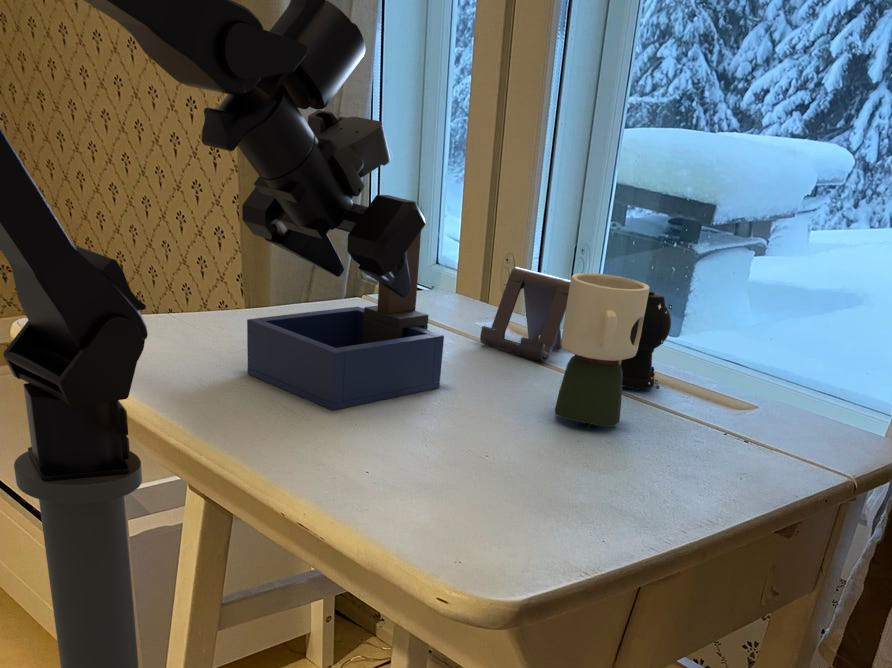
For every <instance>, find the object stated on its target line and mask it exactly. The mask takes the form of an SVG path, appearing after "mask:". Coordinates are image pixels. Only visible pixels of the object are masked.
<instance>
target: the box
mask: <svg viewBox="0 0 892 668" xmlns="http://www.w3.org/2000/svg"><path fill="white" fill-rule="evenodd" d="M363 322H364V307H361V306H351V307H350V306H349V307H342V308H332V309H324V310H315V311H308V312H298V313H291V314H290V313H289V314H281V315H273V316H265V317H257V318H247V320H246V329H247V330H246V334H247V335H246V336H247V337H246V338H247V341H246V342H247V343H246V344H247V345H246V346H247V347H246V350H247V351H246V352H247V354H246V355H247V375H249V376H252V377H254V378H256V379H258V380H261V381H264V382H266V383H268V384H270V385H273V386H275V387H277V388H279V389H282V390H285V391H286V392H289V393H291V394H294V395H296V396H299V397H301V398H303V399H305V400H308V401H310V402H313V403H315V404H317V405H320V406H322V407H323V408H326V409H328V410H331V411H336V410H341V409H345V408H350V407H354V406H359V405H364V404H368V403H369V404H370V403H375V402H378V401H383V400H387V399H393V398H399V397H403V396H406V395H411V394H416V393H421V392H422V393H423V392H425V391H426V392H427V391H431V390H435V389H440V387H441V386H440V385H441V374H442V363H443V353H444V341H445V335H444V334H441V333H438V332H435V331H432V330H429V329H427V330H426V329H423V328H420V327H417V326H415V327H408V328H402V329H403V331H402V338H398V339H392V340H385V341H379V342H372V343H366V344H362V342H363Z"/></svg>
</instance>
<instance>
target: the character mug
mask: <svg viewBox="0 0 892 668" xmlns="http://www.w3.org/2000/svg"><path fill="white" fill-rule="evenodd" d="M649 291H650V286H649V285H648V284H646V283H644V282H642V281H639V280H636V279H632V278H627V277H624V276H617V275H613V274H607V273H595V272H594V273H593V272H580V273H574V274H573V275H571V277H570V287H569V294H568V300H567V307H566V312H565V314H564V319H563V320H564V321H563V327H562V331H561V346H562V348H563V349H564V350H566V351H567V352H569V353H572V354H573V356H571V357H570V359H569V360H568V362H567V364H566V368H565V370H564V374H563V377H562V381H561V384H560V386H559V390H558V395H557V398H556V402H555V406H554V414H555V415H556V416H558V417H560V418H563V419H566V420H571V421H574V422H580V423H583V426H584V427H587V428H589V427H590V426H591V425H594V426H599V427H602V428H603V427H604V428H605V427H611V426H613V427H614V426H616V425H618V424H619V423H620V419H621V410H622V398H623V394H622V393H623V386H622V380H623V372H622V368H621V360H624V359H628V358H632V357H634V356H635V355H636V353H637V350H638V346H639V341H640V337H641V331H642V326H643V320H644V315H645V310H646V305H647V300H648V294H649Z"/></svg>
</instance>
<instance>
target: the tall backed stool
mask: <svg viewBox="0 0 892 668" xmlns="http://www.w3.org/2000/svg"><path fill="white" fill-rule="evenodd" d="M422 230H423V229H422ZM422 230H421V232H420V233H419V234H418V236H417V237H416V239H415V240H414V241H413V243H412V244H411V246H410V247H409V249H408V250H407V251H406V255H407V263H408V269H409V276H410V282H411V292H410V293H409V295H408V296H407V297H406V298H403V297H401V296H399V295H398V294H396V293H395V292H393V291H391V290H390V289H388V288H387V287H385V286H384V285H382V284H381V283H379V282H378V289H377V290H378V291H377V305H372V306H371V305H369V306H364V307H363V308H364V322H363V342H362V344H366V343H372V342H379V341H385V340H392V339H398V338H402V331H403V329H402V328H408V327H415V326H417V327H420V328H423V329H426V330H428V326H429V314H428V313H423V312H421V311H418V310H416V308H417V297H418V296H417V295H418V283H419V281H418V280H419V269H420V255H421V245H422V242H421V241H422Z"/></svg>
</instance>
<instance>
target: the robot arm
mask: <svg viewBox="0 0 892 668" xmlns="http://www.w3.org/2000/svg"><path fill="white" fill-rule="evenodd" d="M83 2H85V3H87V4H88V5H90V6H92V7H93V8H95V9H97V10H98V11H100V12H101V13H103V14H104V15H106V16H107V17H109V18H111V19H113V20H114V21H115V22H117V23H118V24H119V25H120V26H121V27H122V28H124V29H125V30H126V31H127V32H128V33H129V34H131V36H132V37H133V38H134V40H135V41H136V43H137V44H138V45H139V47H140V48H141V49H142V51H143V52H144V54H145V55H146V56H148V57H149V58H150V59H151V60H152V61H154V62H155V63H156V64H157V66H158V67H160V68H161V69H162V70H163V71H165V72H166V73H167V74H168V75H169V76H170V77H172V79H174V81H177V83H179V84H181V85H184V86H187V87H190V88H193V89H194V88H195V89H200V90H205V91H211V92H216V93H221V94H227V95H226V96H225V97H224V99H223V100H222V101H221V103H220V104H219V105H218V106H217V107H216V108H213V107H208V106H207V107H204V109H203V115H204V122H203V125H202V129H201V138H200V139H201V143H202V144H203V145H204V146H206V147H211V148H215V149H219V150H224V151H228V152H233V151H235V150H236V149H237V148H238V149H239V151H240V152H241V153H242V155H243V156H244V157H245V159H246V160H247V162H248V163H249V165H250V166H251V167H252V169H253V170H254V171H255V173H256V174H257V175H258V177H257V179H256V180H255V181H254V183H253V185H254V188H253V189H252V191H251V193H250V194H249V195H248V196H247V198H246V199H245V201H244V202H243V203H242V205H241V212H242V214H241V217H242V218H241V219H242V220H241V221H242V222H243V223H244V224H245V225H246V227H247V228H248V230H249V231H250V232H251V233H252V235H254V236H257V237H259V238H260V237H261V238H264V240H265V241H266V242H267V243H270V244H273V245H274V246H276V247H279V248H281V249H282V250H284V251H286V252H288V253H290V254H293V255H294V256H296V257H297V258H300V259H302V260H304V261H306V262H308V263H309V264H312V265H314V266H316V267H317V268H319V269H321V270H323V271H325V272H327V273H329V274H331V275H333V276H334V277H337V278H340V277H342V276H341V275H342V274H343V273H344V271H345V265H344V264H343V262H342V260H341V257H340V255H339V254H338V252H337V250H336V248H335V246H334V244H333V242H332V240H331V239H330V237H329V235H328V233H329V231H333V230H334V229H335V230H339V231H343V232H347V233H348V234H347V248H346V249H347V250H346V251H347V253H348V254H349V255H350V257H351V259H352V260H353V261H354V262H355V263H357V264H358V265H359V266H358V270H360V271H361V272H362V273H364V274H365V275H367V276H369V277H370V278H372V279H374V280H375V281H377V282H378V284H379V283H381V284H382V285H384V286H385V287H387V288H388V289H390V290H391V291H393V292H395V293H396V294H398V295H399V296H401V297H403V298H406V297H407V296H408V295H409V293H410V292H411V282H410V276H409V269H408V263H407V255H406V251H407V250H408V249H409V247H410V246H411V244H412V243H413V241H414V240H415V239H416V237H417V236H418V234H419V233H420V232H421V233H422V231H421V230H423V229H424V228H425V226H426V225H427V224H426V219H425V216H424V214H423V213H422V211H421V209H420V207H419V206H418V204H417V202H416V201H414V200H411V199H406V198H401V197H397V196H394V195H389V194H376V195H375V196H374V198H373V199H372V201H371V202H370V204H369V205H368V206H366V205H362V204H358V203H355V202H353V200H352V199H353V198H354V197H359V196H360V194H362V192H363V190H364V189H365V187H366V185H365V184H364V181H363V180H362V178H364V177H366V176H367V175H369V174H370V173H372V172H373V171H375V170H376V169H378V168H380V167H381V166H386V165H388V164H389V163H390V162H391V160H392V159H391V155H390V151H389V146H388V141H387V137H386V134H385V133H386V132H385V128H384V125H383V122H382V121H380V120H376V119H370V118H365V117H360V116H348V117H346V116H339V117H336V115H335V114H334V113H333V112H332V111H327V110H324V109H325V108H326V107H328V105H329V104H330V102H331V101H332V100H333V98H334V97H335V95H336V94H337V93H338V92H339V91H340V89H341V87H342V86H343V85H344V83H345V82H346V81H347V79H348V78H349V77H350V75H352V73H353V71H354V70H355V69H356V67H357V66H358V64H360V62H361V60H362V59H363V58H364V56H365V55H366V42H365V39H364V37H363V34H362V32H361V30H360V28H359V26H358V25H357V24H356V23H354V22H352V21H351V19H350V18H349V17H348V15H346V14H345V13H344V12H343V10H341V9H340V8H339V7H337V5H335V4H334V3H332V2H330V1H329V0H290V1H289V4H288V5H287V7H286V8H285V10H284V11H283V13H281V15H280V17H279V18H278V19H277V20H276V22H275V23H274V24H273V25H272V27H271V28H270V29H269V30H266V29H264V27H263V24H262V23H261V21H260V20H259V18H258V17H257V15H255V14H254V12H252V11H251V10H250V9H249V8H248V7H246V6H244V5H242V4H240V3H238V2H236V1H234V0H83ZM307 109H314V110H316V111H313V112H312V113H311V114H308V116H307V120H306V119H305V117H304V116H303V114H302V112H301V111H300V110H307ZM0 252H1V253H2V254H3V256H4V257H5V259H6V260H7V262H8V264H9V266H10V268H11V271H12V276H13V280H14V281H13V282H14V286H15V290H16V295H17V299H18V302H19V304H20V306H21V308H22V310H23V312H24V314H25V316H26V318H27V321H26V323H25V324H24V325H23V326H22V327H21V329H20V330H19V331H18V333H17V334H16V336H15V337H14V338H12V339H13V340H11V342H10V344H9V345H8V346H7V347H6V349H5V350H4V351H3V354H2V355H3V358H4V361H5V362H6V364H7V366H8V368H9V369H10V372H11V373H12V375H13V377H14V378H16V379H18V380H22V381H24V382H26V383H23V391H24V399H25V407H26V416H27V422H28V430H29V437H30V446H29V447H27V451H28V454H29V456H30V458H31V460H32V462H33V464H34V466H35V468H36V470H37V472H38V474H39V476H40V478H41V480H43V481H58V480H69V479H80V478H90V477H101V476H112V475H123V474H128V473H129V472H130V471H129V466H128V464H127V463H126V461H125V460H124V459H128V458H129V457H130V451H131V450H130V440H129V437H128V435H129V425H128V412H127V409H126V408H125V407H124V405H123V404H122V402H121V401H123V400H127V399H128V398H129V396H130V392H131V388H132V384H133V380H134V377H135V372H136V368H137V364H138V361H139V360H140V358H141V355H142V353H143V352H144V348H145V343H146V339H148V328H147V325H146V322H145V319H144V317H143V315H142V313H141V312H140V311H145V310H146V309H147V305H146V304H145V303H143V302H142V301H141V300H139V299H138V298H137V296H136V295H135V294H134V292H133V291H132V289H131V287H130V285H129V282H128V280H127V277H126V275H125V273H124V270H123V269H122V267H121V266H120V264H119V262H118V261H117V260H116V259H114V258H111V257H108V256H106V255H104V254H101V253H98V252H95V251H92V250H90V249H87V248H85V247H82V246H79V245H76V244H74V243H73V242H72V240H71V238H70V237H69V235H68V234H67V232H66V230H65V229H64V227H63V226H62V223H60V221H59V219H58V217H57V215H56V214H55V213H54V210H52V208H51V206H50V204H49V203H48V201H47V200H46V198H45V197H44V195H43V193H42V192H41V190H40V188H39V187H38V185H37V184H36V182H35V180H34V179H33V177H32V175H31V174H30V172H29V170H28V169H27V168H26V166H25V164H24V163H23V161H22V159H21V158H20V156H19V154H18V153H17V151H16V150H15V148H14V147H13V145H12V143H11V142H10V140H9V139H8V137H7V135H6V134H5V132H4V130H3V129H2V127H1V126H0Z"/></svg>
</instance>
